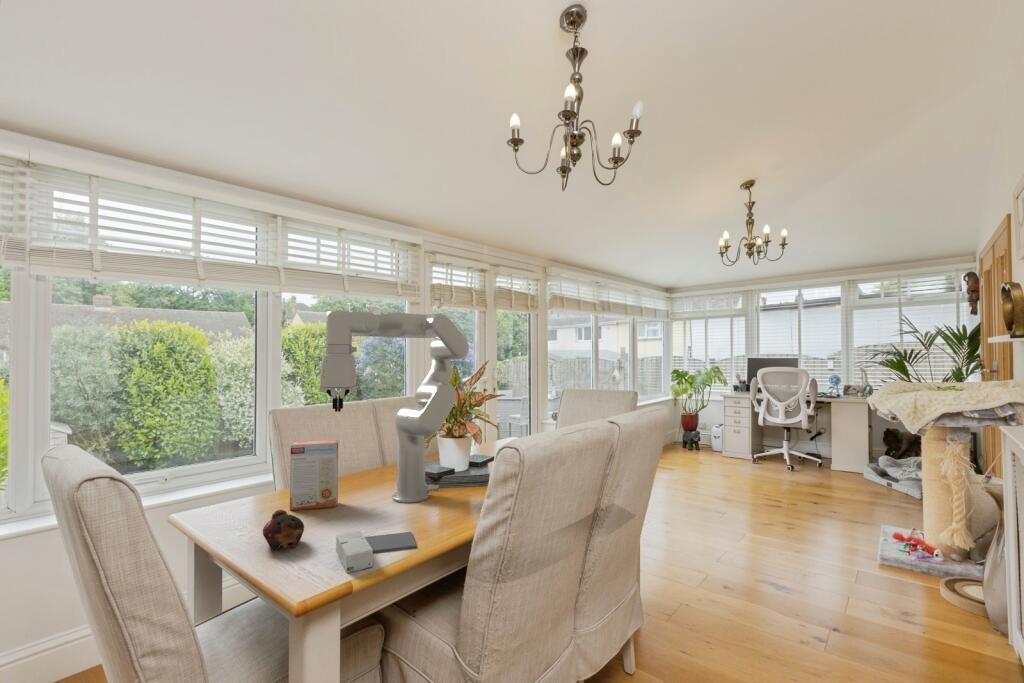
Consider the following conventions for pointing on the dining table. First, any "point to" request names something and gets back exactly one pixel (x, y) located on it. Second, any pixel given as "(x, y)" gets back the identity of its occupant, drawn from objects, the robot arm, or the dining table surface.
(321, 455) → the cracker box
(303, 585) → the dining table surface
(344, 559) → the skincare box
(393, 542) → the slate mat
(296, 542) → the decorative turtle
